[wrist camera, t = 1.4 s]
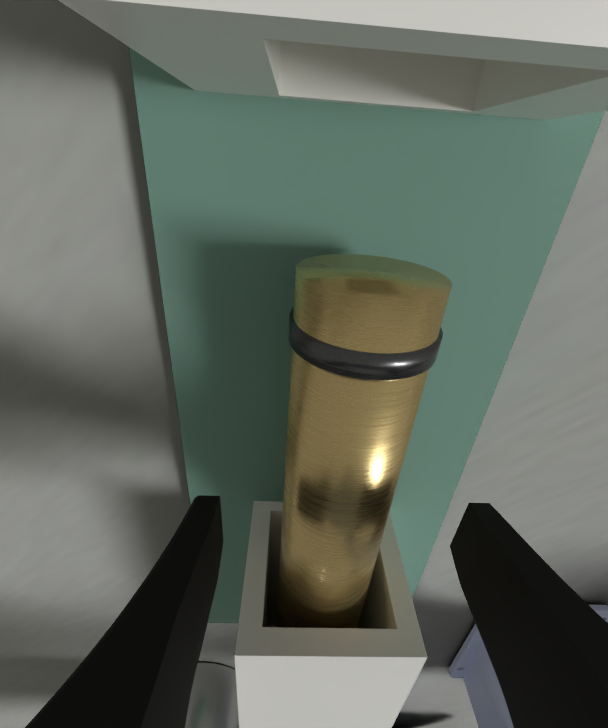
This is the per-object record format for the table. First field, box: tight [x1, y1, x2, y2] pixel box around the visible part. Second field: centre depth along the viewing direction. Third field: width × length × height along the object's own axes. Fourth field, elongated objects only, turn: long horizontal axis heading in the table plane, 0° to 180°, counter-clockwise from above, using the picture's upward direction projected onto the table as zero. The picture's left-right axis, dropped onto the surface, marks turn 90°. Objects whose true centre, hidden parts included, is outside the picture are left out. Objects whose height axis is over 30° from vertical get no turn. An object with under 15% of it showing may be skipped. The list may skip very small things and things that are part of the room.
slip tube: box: [276, 254, 452, 628], centre depth 14 cm, size 21×4×4 cm, turn 176°
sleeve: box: [235, 501, 428, 728], centre depth 17 cm, size 11×6×6 cm, turn 176°
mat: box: [129, 47, 605, 623], centre depth 14 cm, size 32×12×1 cm, turn 176°
